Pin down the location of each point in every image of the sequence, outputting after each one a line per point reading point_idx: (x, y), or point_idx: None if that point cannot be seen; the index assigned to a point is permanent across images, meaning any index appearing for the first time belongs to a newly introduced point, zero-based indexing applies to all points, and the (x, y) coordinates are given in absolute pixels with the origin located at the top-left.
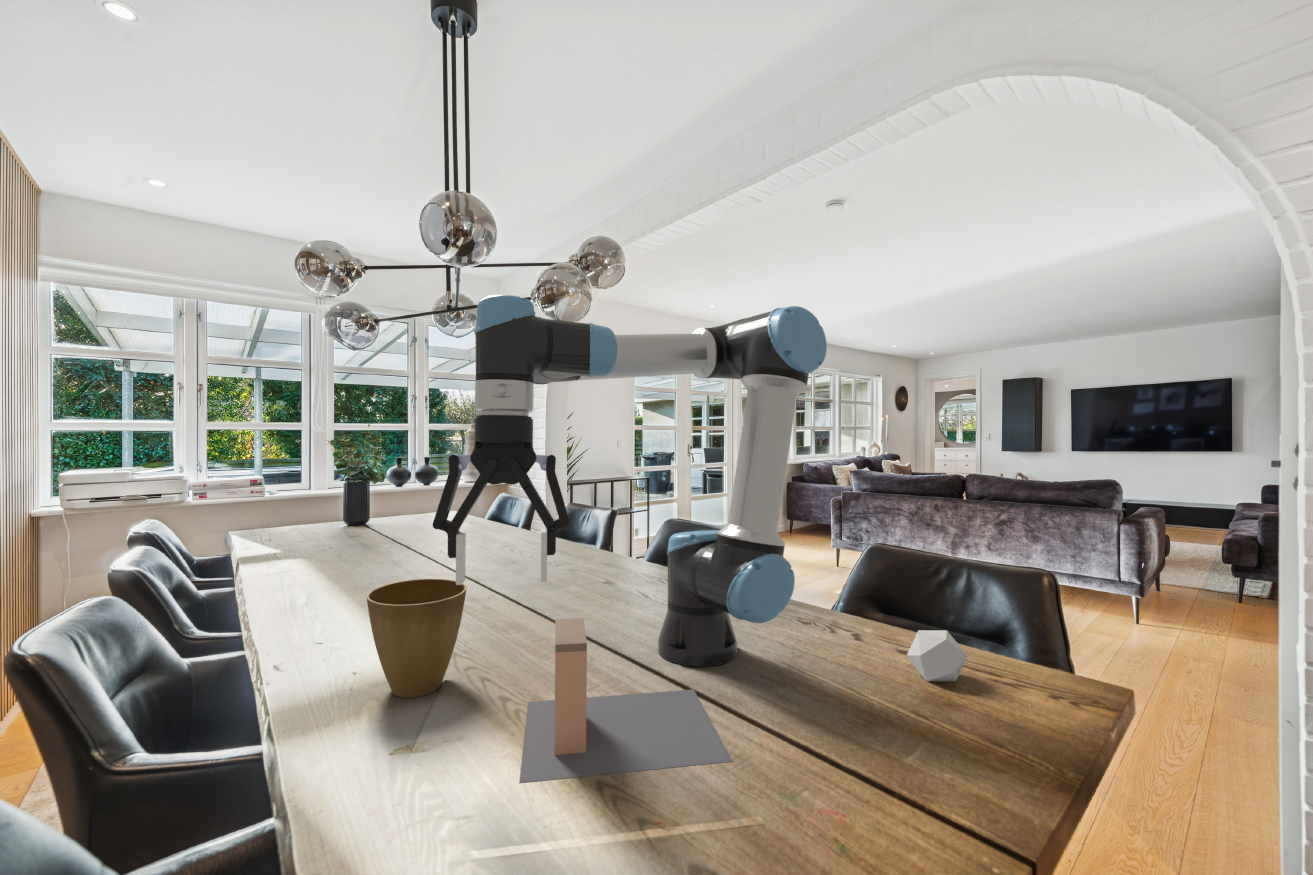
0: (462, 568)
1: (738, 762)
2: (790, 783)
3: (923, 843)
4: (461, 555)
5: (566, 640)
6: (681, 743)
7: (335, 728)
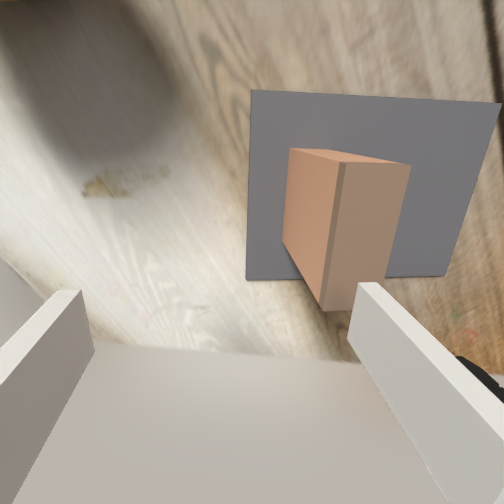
0: (68, 388)
1: (449, 268)
2: (469, 300)
3: (498, 360)
4: (35, 453)
5: (345, 294)
6: (415, 239)
7: None
